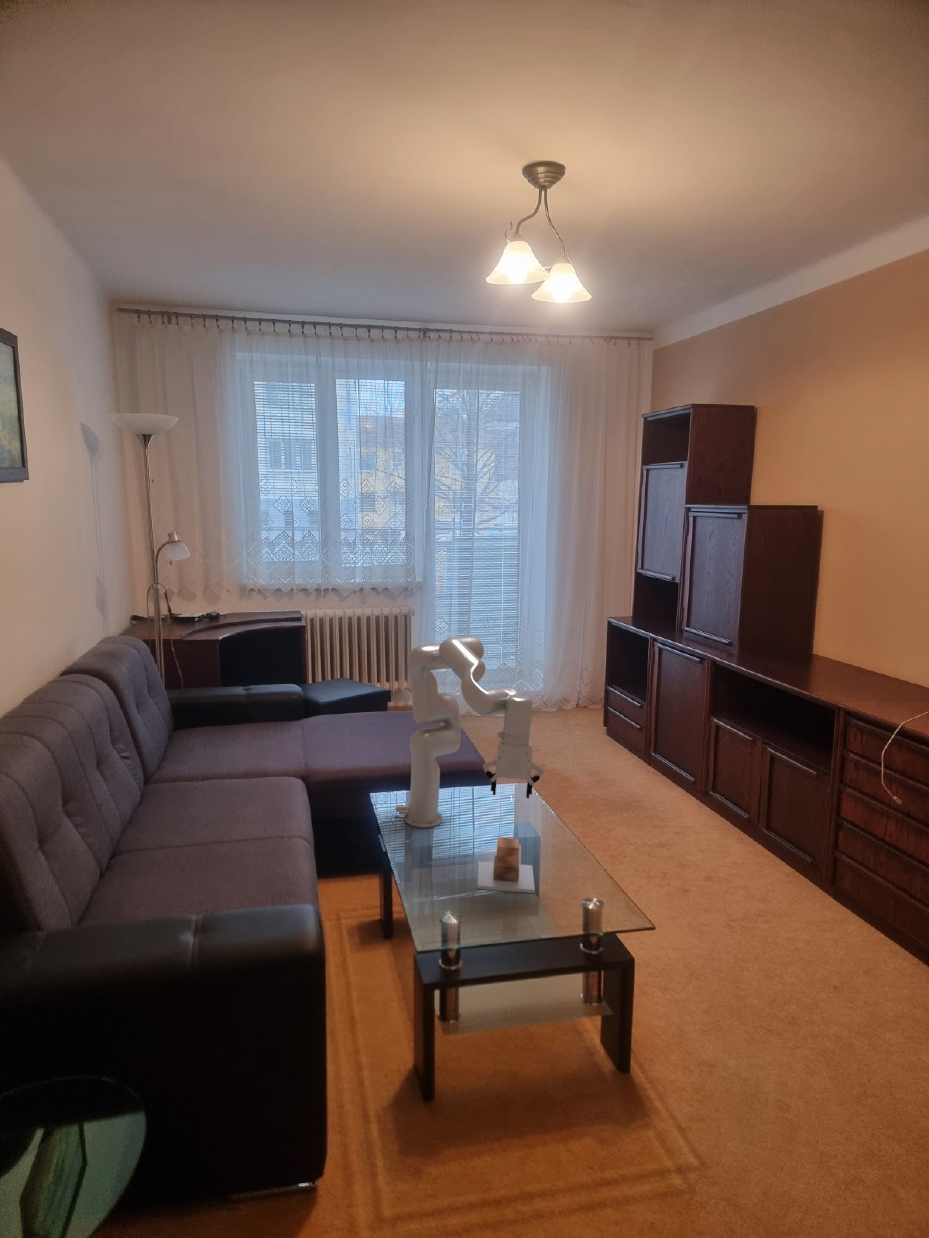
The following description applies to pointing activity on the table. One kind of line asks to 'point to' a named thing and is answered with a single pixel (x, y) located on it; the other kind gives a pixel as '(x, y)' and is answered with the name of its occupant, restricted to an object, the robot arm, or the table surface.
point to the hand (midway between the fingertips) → (510, 794)
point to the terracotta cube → (507, 852)
